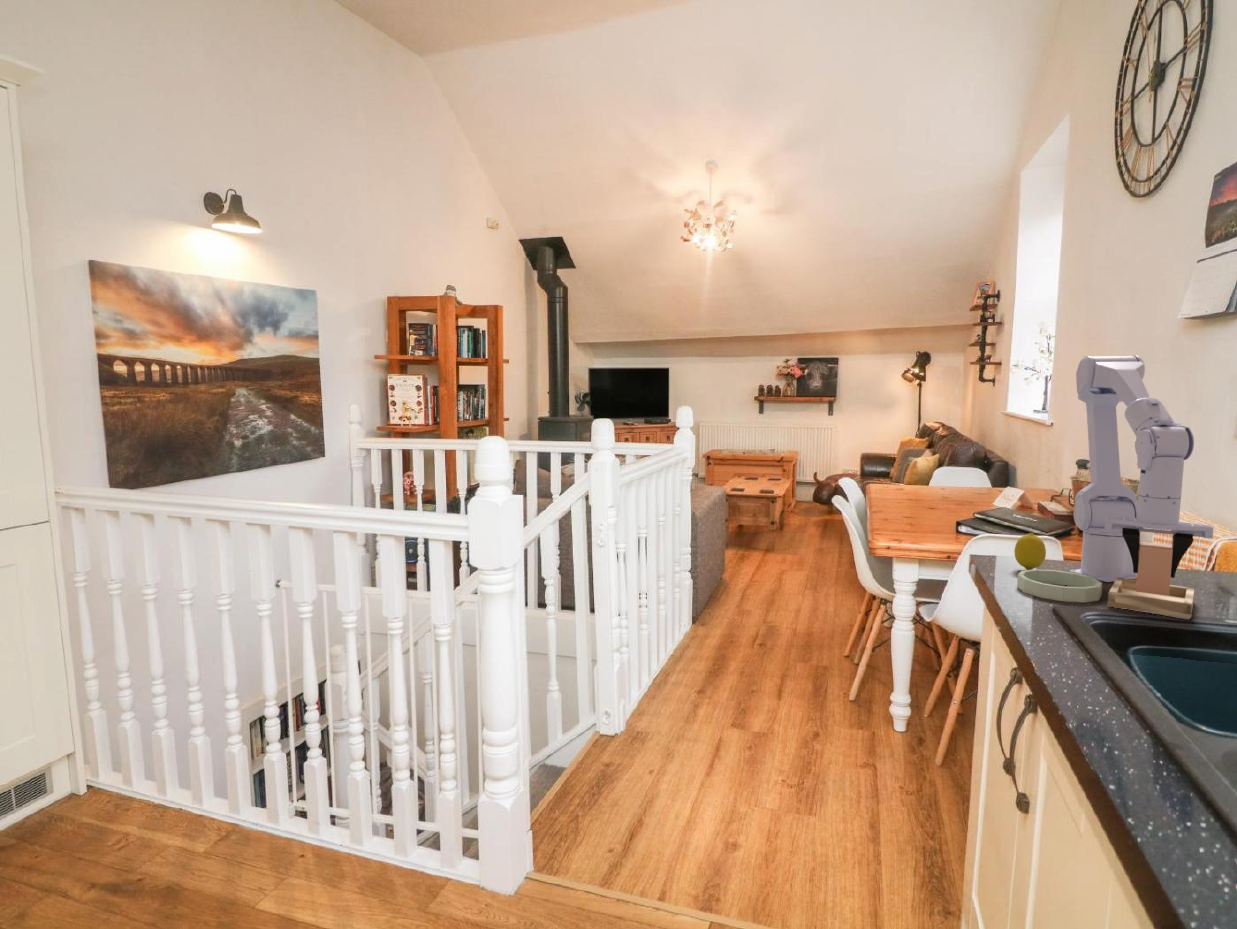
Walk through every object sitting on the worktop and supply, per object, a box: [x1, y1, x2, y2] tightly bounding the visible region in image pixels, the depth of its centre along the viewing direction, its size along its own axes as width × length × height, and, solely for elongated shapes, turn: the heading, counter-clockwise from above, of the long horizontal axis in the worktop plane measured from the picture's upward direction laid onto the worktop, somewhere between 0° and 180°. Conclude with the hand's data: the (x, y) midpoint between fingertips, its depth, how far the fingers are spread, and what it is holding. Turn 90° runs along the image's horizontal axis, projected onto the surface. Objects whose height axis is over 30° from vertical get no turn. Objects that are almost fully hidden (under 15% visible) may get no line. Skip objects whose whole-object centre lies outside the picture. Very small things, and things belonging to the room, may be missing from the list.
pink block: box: [1136, 541, 1173, 596], centre depth 118 cm, size 4×4×8 cm
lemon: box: [1014, 532, 1047, 570], centre depth 141 cm, size 6×6×8 cm
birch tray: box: [1107, 577, 1195, 619], centre depth 119 cm, size 13×11×2 cm
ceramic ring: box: [1016, 568, 1103, 603], centre depth 127 cm, size 13×13×2 cm
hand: (1153, 574), depth 118 cm, fingers closed on pink block, 4 cm apart
